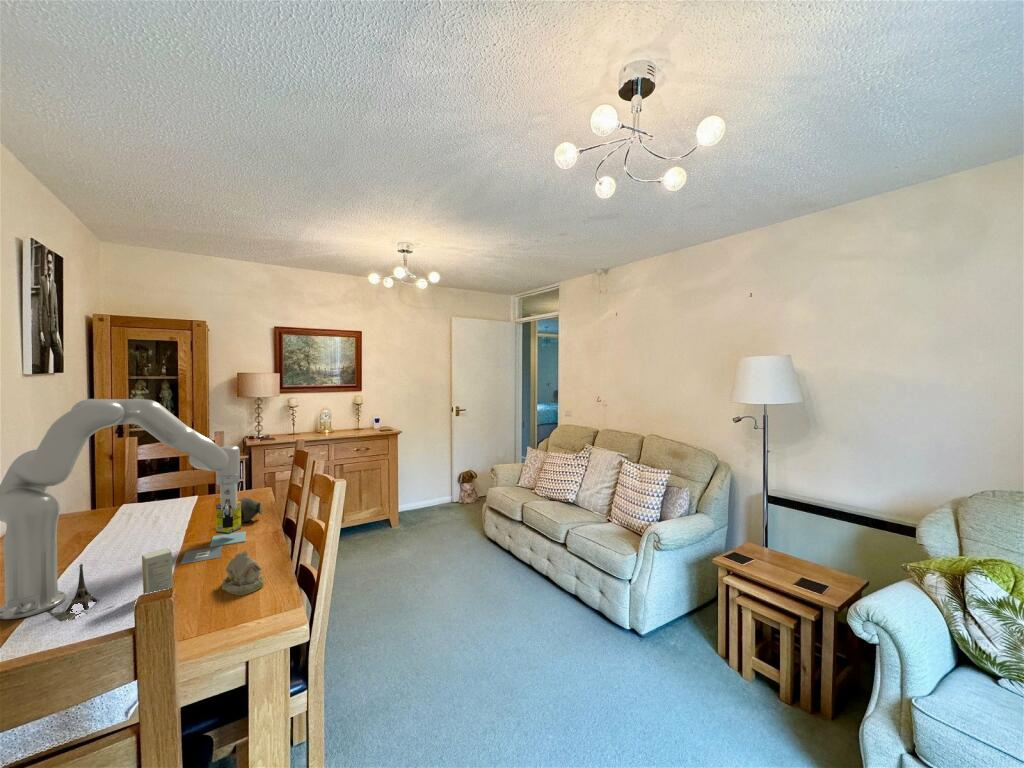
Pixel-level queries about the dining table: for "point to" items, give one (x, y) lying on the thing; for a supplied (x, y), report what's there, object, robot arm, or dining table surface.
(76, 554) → the dining table surface
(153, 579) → the skincare box
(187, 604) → the dining table surface
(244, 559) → the ceramic model
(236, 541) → the rubber mat
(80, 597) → the eiffel tower figurine
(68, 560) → the dining table surface
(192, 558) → the card
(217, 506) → the supplement box
